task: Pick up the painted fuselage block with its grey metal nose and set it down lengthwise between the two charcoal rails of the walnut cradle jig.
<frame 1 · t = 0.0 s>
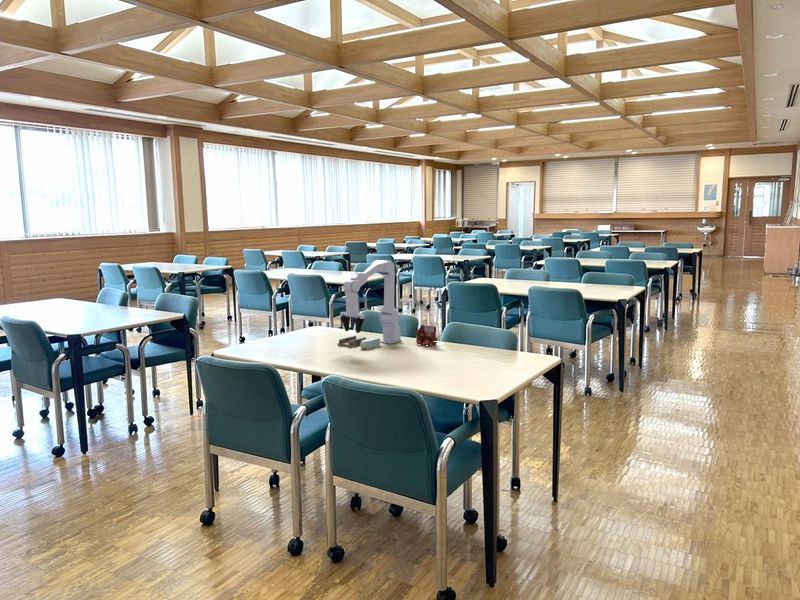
hand: (352, 331, 292), 10 cm above the table, tool pointing down, fingers open, 7 cm apart
cradle: (352, 344, 310), on the table
fuselage: (369, 347, 302), on the table
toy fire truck: (426, 345, 306), on the table
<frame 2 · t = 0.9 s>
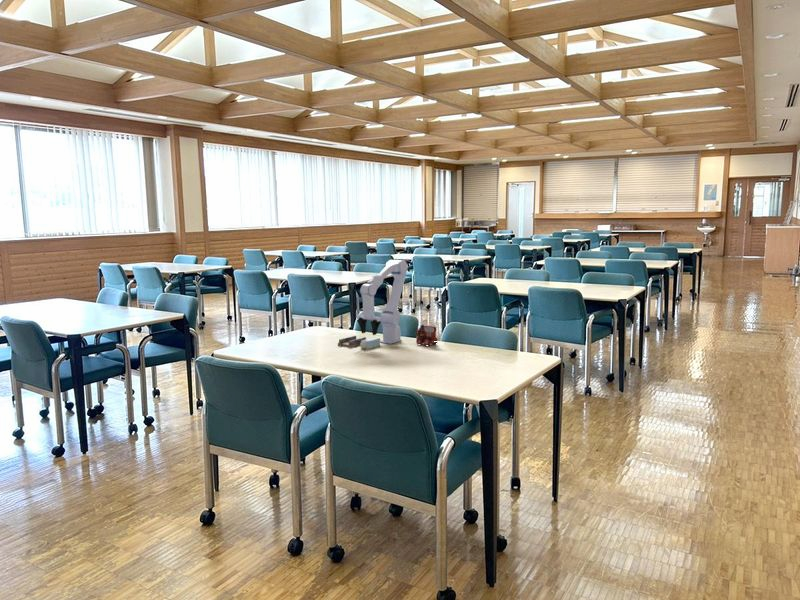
hand: (369, 333, 301), 7 cm above the table, tool pointing down, fingers open, 7 cm apart
nothing on the table moved.
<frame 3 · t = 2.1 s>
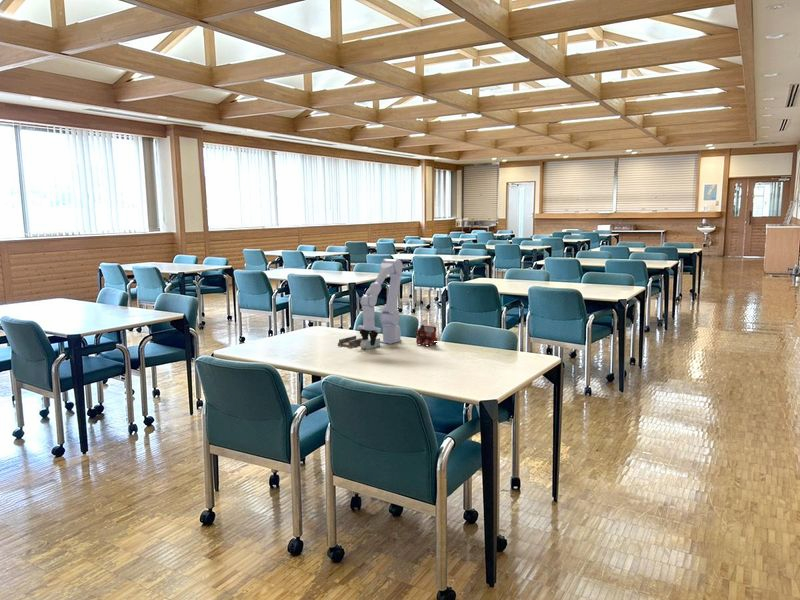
hand: (369, 344, 302), 1 cm above the table, tool pointing down, fingers closed on fuselage, 4 cm apart
fuselage: (369, 347, 302), on the table, touching gripper
everything else where it was.
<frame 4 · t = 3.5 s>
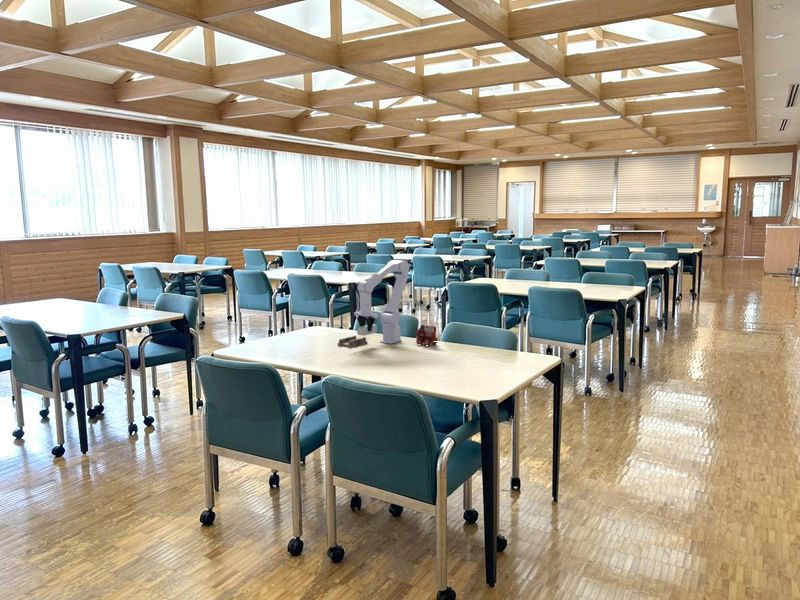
hand: (366, 330, 302), 8 cm above the table, tool pointing down, fingers closed on fuselage, 4 cm apart
fuselage: (366, 333, 302), point 7 cm above the table, touching gripper
everything else where it was.
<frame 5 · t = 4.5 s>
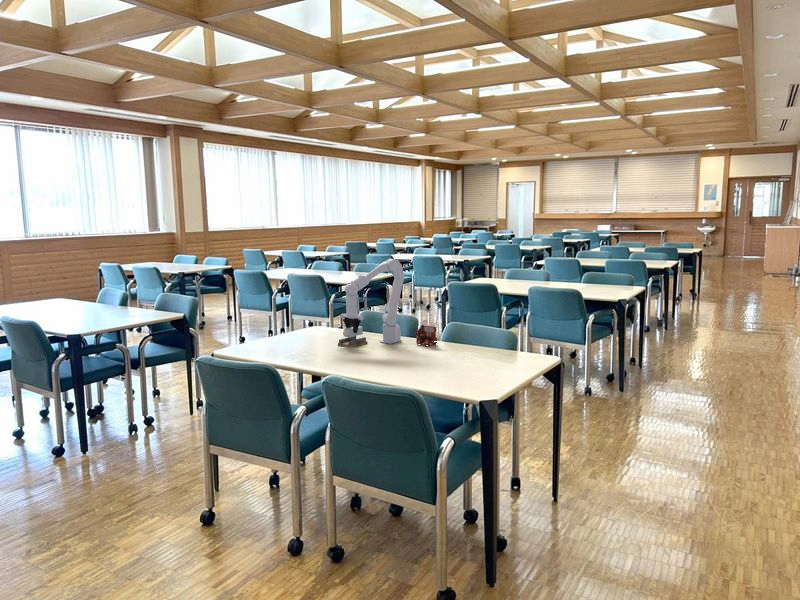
hand: (352, 332, 309), 6 cm above the table, tool pointing down, fingers closed on fuselage, 4 cm apart
fuselage: (352, 335, 309), point 5 cm above the table, touching gripper
everything else where it was.
when the fingers open (4 cm above the table, at t = 5.3 s): fuselage drops 1 cm, resting on cradle.
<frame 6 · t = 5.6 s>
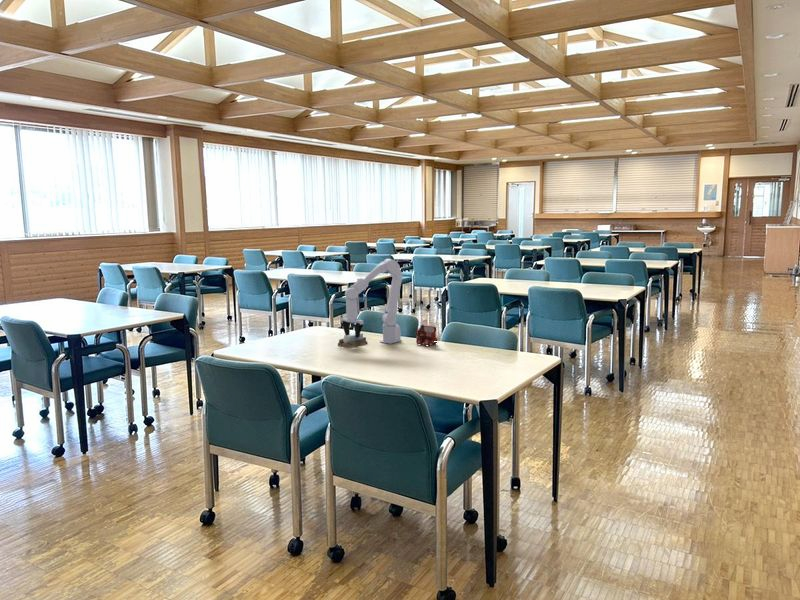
hand: (352, 336, 309), 4 cm above the table, tool pointing down, fingers open, 7 cm apart
fuselage: (352, 342, 309), point 1 cm above the table, touching cradle
everything else where it was.
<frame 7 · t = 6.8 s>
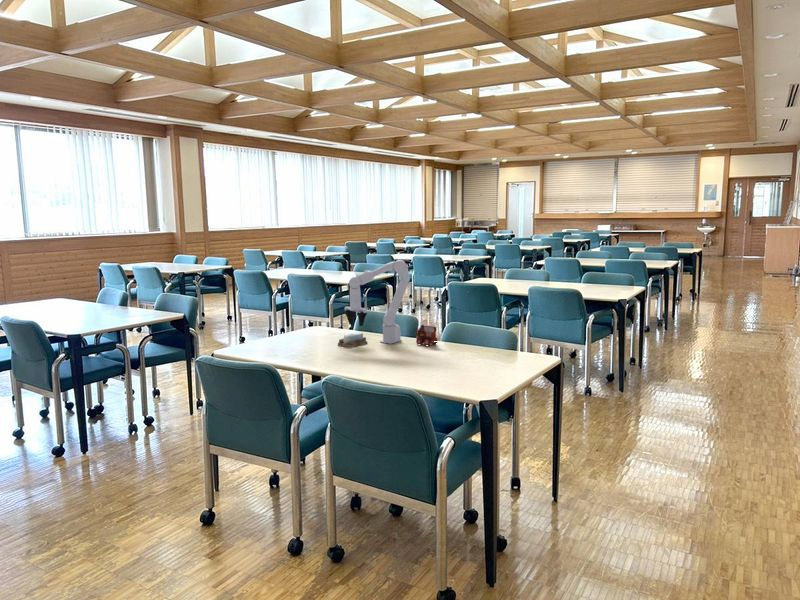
hand: (356, 324, 313), 9 cm above the table, tool pointing down, fingers open, 7 cm apart
nothing on the table moved.
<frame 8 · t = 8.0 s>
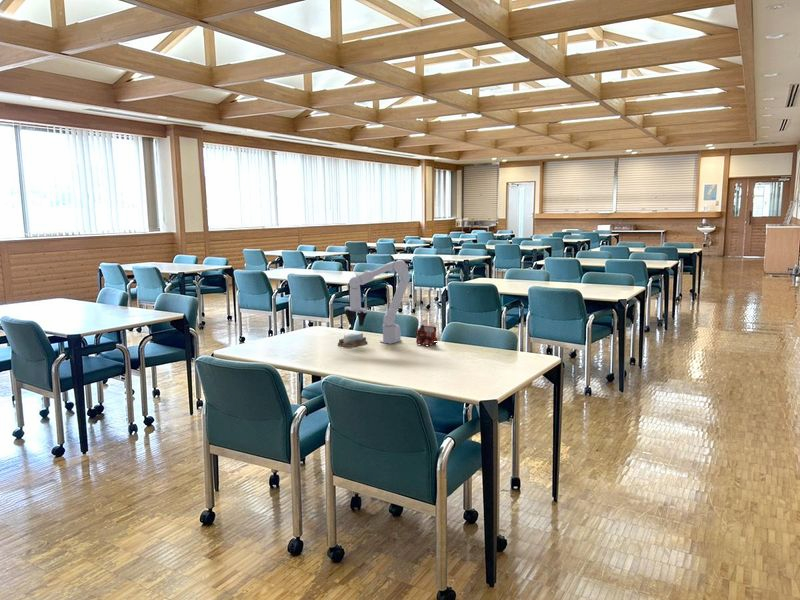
hand: (356, 324, 313), 9 cm above the table, tool pointing down, fingers open, 7 cm apart
nothing on the table moved.
at the end: fuselage 0.1 cm off-centre on the cradle, point 1.2 cm above the cradle's base; fuselage tilted 0°; the gripper is holding nothing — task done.
